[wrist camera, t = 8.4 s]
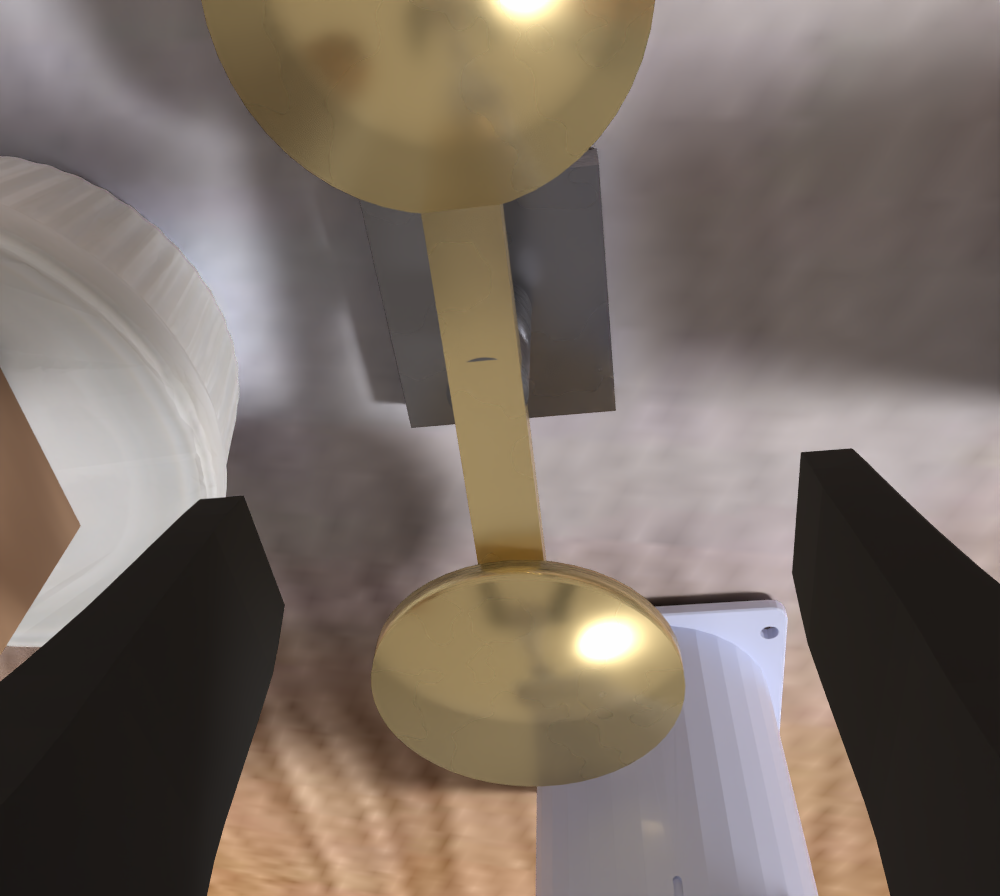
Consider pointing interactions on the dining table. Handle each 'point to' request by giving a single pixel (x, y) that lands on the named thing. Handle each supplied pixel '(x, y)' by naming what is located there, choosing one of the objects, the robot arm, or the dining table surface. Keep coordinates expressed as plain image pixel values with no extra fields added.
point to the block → (26, 516)
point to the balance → (482, 341)
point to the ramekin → (109, 374)
